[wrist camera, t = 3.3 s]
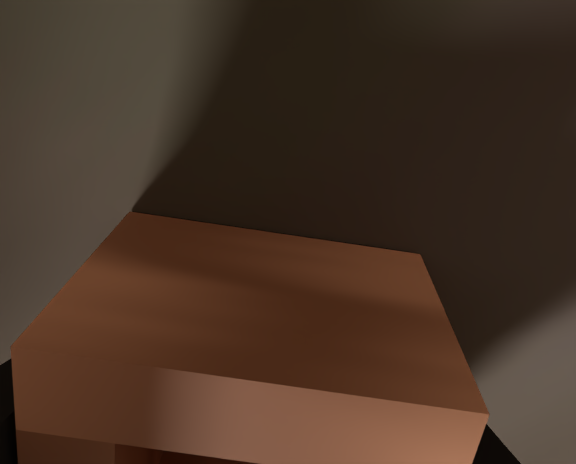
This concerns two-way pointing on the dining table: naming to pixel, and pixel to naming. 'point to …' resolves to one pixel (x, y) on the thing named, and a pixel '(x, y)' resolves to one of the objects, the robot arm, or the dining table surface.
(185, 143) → the dining table surface
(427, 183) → the dining table surface
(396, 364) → the bead
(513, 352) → the dining table surface
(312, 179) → the dining table surface
